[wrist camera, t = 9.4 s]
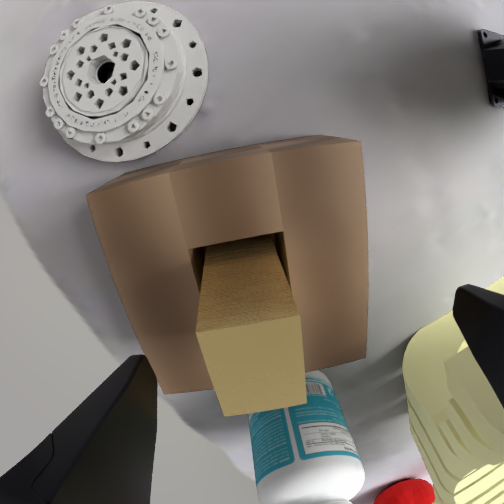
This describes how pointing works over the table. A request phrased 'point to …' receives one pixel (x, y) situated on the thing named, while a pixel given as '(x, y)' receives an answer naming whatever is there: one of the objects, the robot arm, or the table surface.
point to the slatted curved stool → (455, 414)
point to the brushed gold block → (250, 328)
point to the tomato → (407, 493)
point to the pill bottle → (306, 450)
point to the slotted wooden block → (233, 228)
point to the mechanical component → (125, 80)
